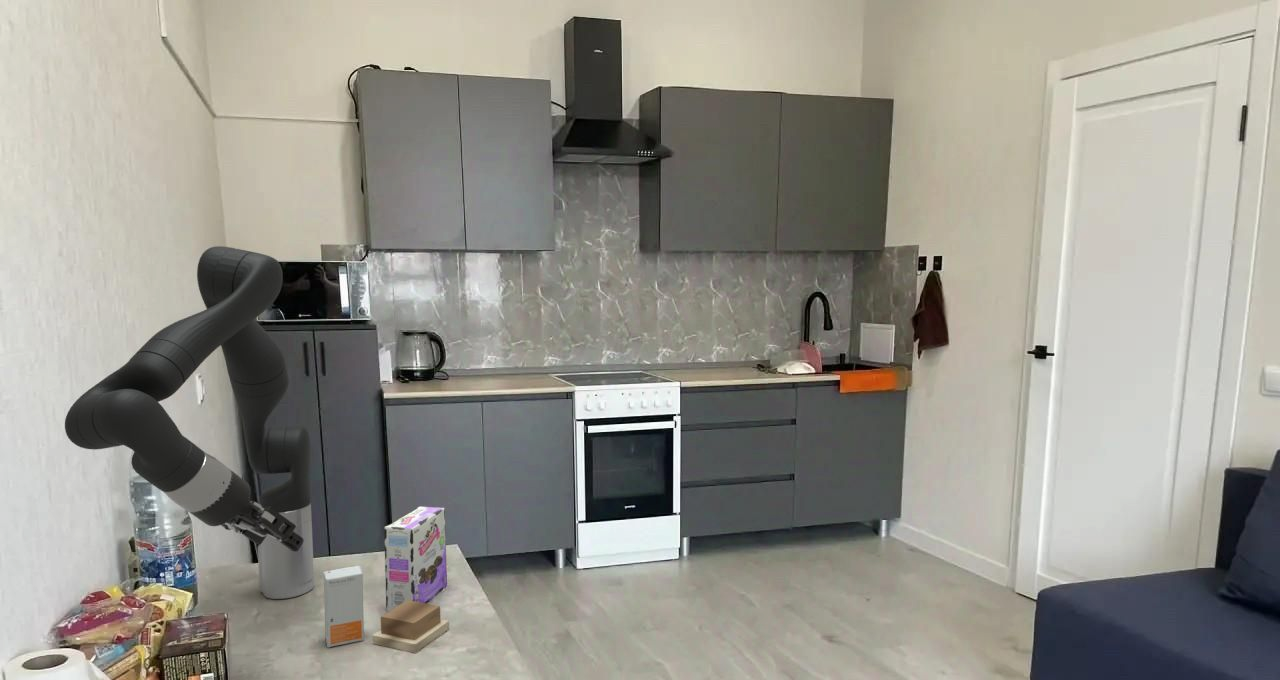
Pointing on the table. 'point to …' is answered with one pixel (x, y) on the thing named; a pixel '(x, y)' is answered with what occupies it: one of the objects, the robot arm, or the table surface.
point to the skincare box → (343, 606)
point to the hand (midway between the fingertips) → (280, 542)
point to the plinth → (408, 642)
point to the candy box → (415, 557)
